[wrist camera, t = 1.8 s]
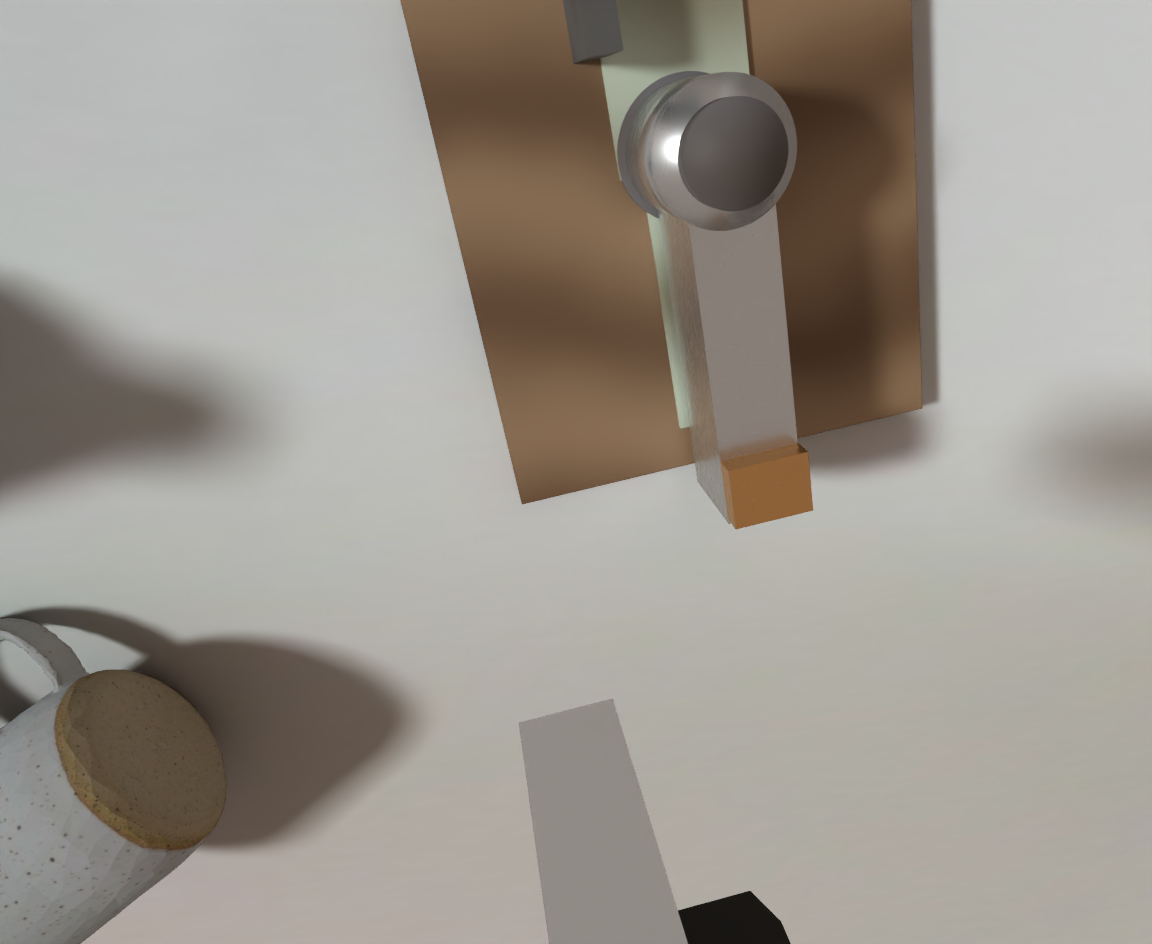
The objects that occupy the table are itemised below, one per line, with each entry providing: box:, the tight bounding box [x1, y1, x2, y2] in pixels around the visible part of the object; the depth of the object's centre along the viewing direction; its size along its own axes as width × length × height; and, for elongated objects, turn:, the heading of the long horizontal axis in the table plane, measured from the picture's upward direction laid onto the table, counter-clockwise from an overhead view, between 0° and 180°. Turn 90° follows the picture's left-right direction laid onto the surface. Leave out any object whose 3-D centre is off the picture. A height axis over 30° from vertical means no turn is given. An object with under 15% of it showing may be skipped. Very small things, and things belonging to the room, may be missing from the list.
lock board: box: [401, 0, 922, 504], centre depth 24 cm, size 24×15×6 cm, turn 11°
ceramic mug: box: [0, 618, 226, 944], centre depth 28 cm, size 11×8×8 cm
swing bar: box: [626, 72, 813, 529], centre depth 26 cm, size 13×4×4 cm, turn 11°
